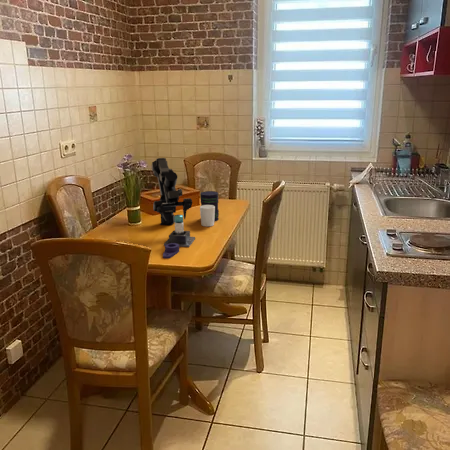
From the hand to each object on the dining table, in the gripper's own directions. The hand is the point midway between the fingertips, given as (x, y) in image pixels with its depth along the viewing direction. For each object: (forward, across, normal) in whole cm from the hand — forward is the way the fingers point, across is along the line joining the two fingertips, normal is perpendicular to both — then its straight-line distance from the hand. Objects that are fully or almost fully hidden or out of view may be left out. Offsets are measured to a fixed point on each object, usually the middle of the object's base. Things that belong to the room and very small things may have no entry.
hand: (175, 219), depth 222 cm
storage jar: (-11, +24, +24) cm, 36 cm away
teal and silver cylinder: (+11, 0, 0) cm, 11 cm away
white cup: (-4, +20, +18) cm, 27 cm away
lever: (+22, -7, -9) cm, 25 cm away
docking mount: (+12, 0, +1) cm, 12 cm away
